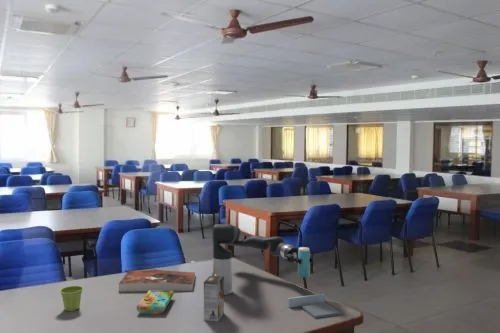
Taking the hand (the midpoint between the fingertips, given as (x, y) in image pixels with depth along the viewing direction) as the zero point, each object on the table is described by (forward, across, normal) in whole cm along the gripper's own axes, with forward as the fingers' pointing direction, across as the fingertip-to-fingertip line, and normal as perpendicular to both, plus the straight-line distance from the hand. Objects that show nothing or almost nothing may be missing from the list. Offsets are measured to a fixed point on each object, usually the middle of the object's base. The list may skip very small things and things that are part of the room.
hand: (306, 261), depth 204 cm
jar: (-3, 0, -8) cm, 8 cm away
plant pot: (-25, +102, -18) cm, 106 cm away
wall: (+6, +3, -18) cm, 19 cm away
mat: (+15, +1, -18) cm, 23 cm away
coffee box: (+5, +46, -18) cm, 50 cm away
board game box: (-47, +60, -18) cm, 79 cm away
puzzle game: (-16, +67, -18) cm, 71 cm away
